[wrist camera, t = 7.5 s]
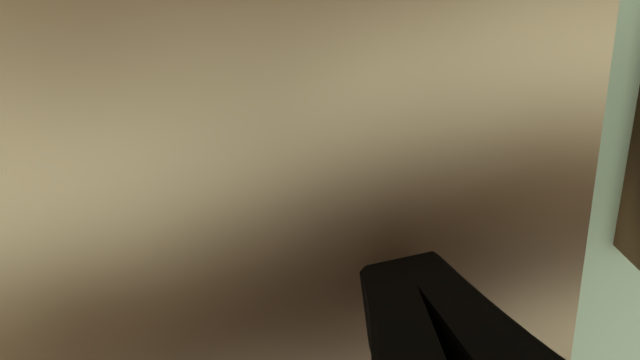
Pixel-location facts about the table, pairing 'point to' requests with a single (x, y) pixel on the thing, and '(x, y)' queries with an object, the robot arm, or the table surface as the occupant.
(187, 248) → the birch deck
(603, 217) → the sage mat
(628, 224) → the walnut tile
